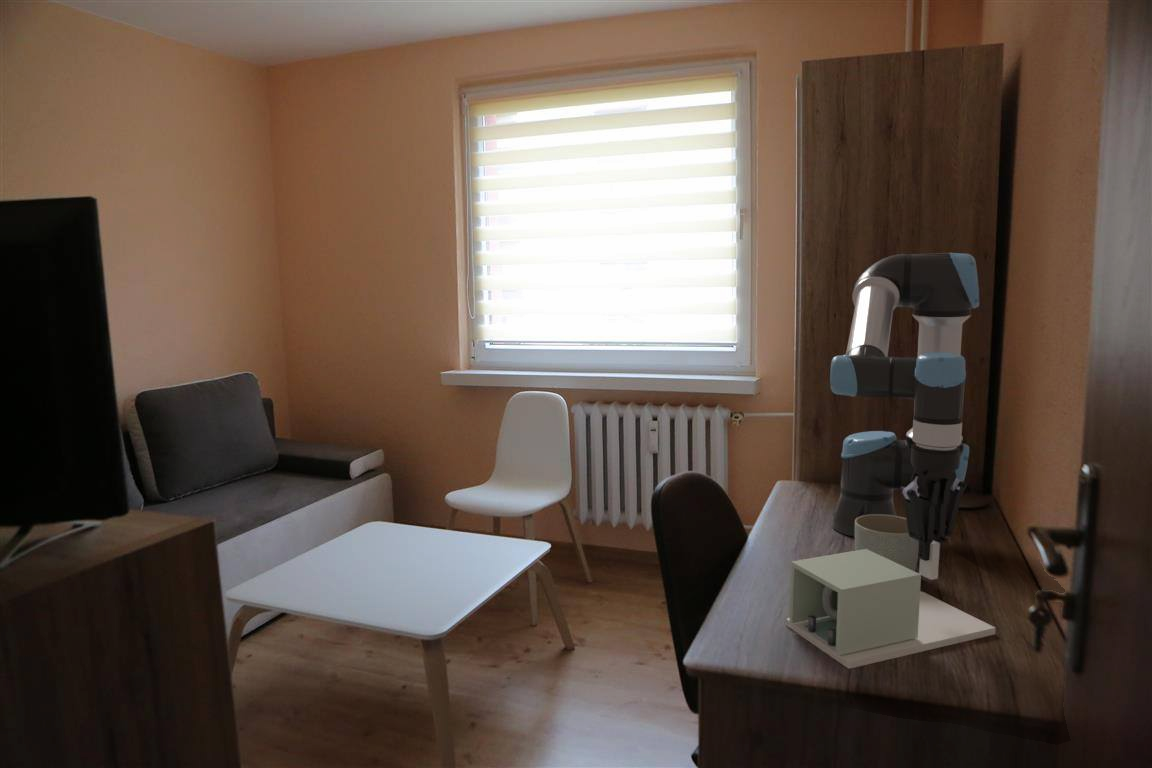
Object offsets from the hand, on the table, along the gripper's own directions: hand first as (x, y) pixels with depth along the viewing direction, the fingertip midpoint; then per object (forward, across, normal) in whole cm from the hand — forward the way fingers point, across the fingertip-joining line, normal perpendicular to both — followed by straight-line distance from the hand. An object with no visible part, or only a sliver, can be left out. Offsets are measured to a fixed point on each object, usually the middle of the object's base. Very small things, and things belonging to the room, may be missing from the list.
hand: (928, 576), depth 132 cm
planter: (+9, -8, -18) cm, 22 cm away
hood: (+6, +17, +1) cm, 18 cm away
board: (+8, +9, +1) cm, 12 cm away
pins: (+7, +17, +1) cm, 18 cm away
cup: (+7, +16, 0) cm, 18 cm away
